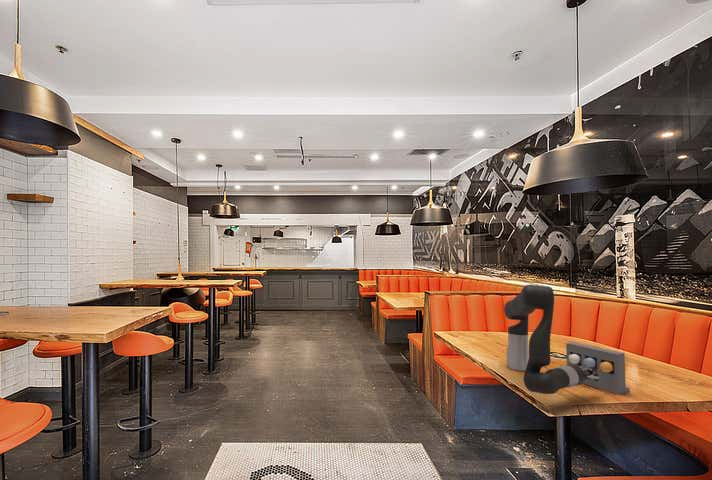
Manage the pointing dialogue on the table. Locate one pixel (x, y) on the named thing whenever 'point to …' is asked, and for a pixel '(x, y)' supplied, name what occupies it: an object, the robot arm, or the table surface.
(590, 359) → the slate button
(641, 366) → the table surface
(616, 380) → the button panel
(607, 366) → the orange button
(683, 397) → the table surface
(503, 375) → the table surface
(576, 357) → the offwhite button
